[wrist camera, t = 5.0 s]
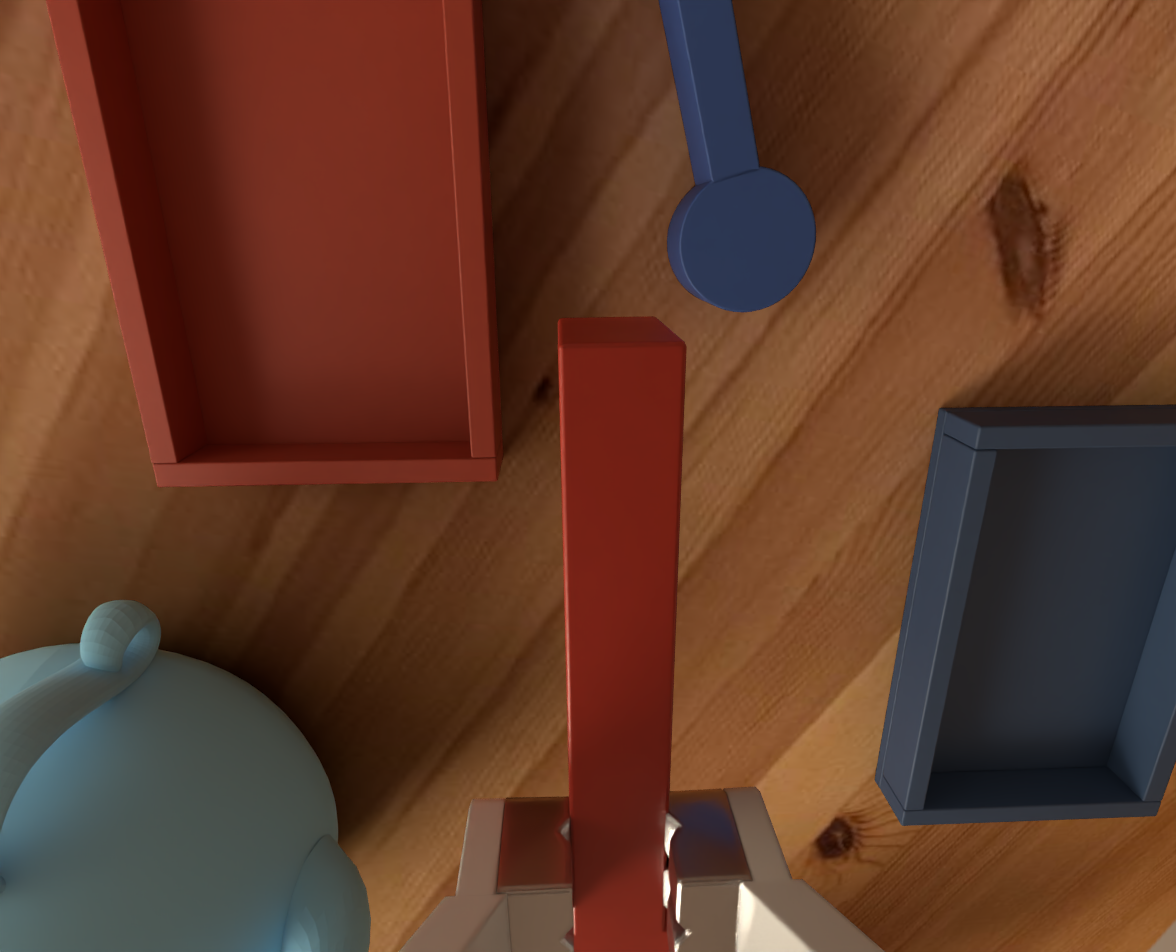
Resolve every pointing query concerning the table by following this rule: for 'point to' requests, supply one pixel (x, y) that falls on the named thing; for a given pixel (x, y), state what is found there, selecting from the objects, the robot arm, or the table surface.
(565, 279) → the table surface
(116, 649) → the teapot
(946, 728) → the blue tray
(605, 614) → the red spoon
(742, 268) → the blue spoon
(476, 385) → the red tray
